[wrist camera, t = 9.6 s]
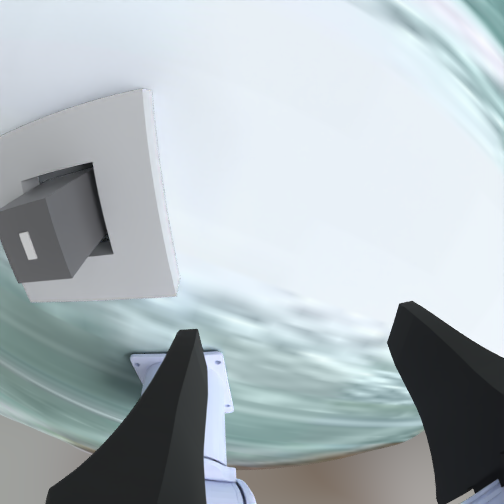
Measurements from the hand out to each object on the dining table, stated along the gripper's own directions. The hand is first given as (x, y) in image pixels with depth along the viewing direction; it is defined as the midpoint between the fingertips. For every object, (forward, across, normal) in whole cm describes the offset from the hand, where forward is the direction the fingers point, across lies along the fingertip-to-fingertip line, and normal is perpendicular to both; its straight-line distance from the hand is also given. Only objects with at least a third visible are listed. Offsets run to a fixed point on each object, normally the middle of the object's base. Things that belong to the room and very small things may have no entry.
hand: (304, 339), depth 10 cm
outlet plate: (+9, +12, -3) cm, 16 cm away
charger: (+10, +12, -3) cm, 16 cm away
